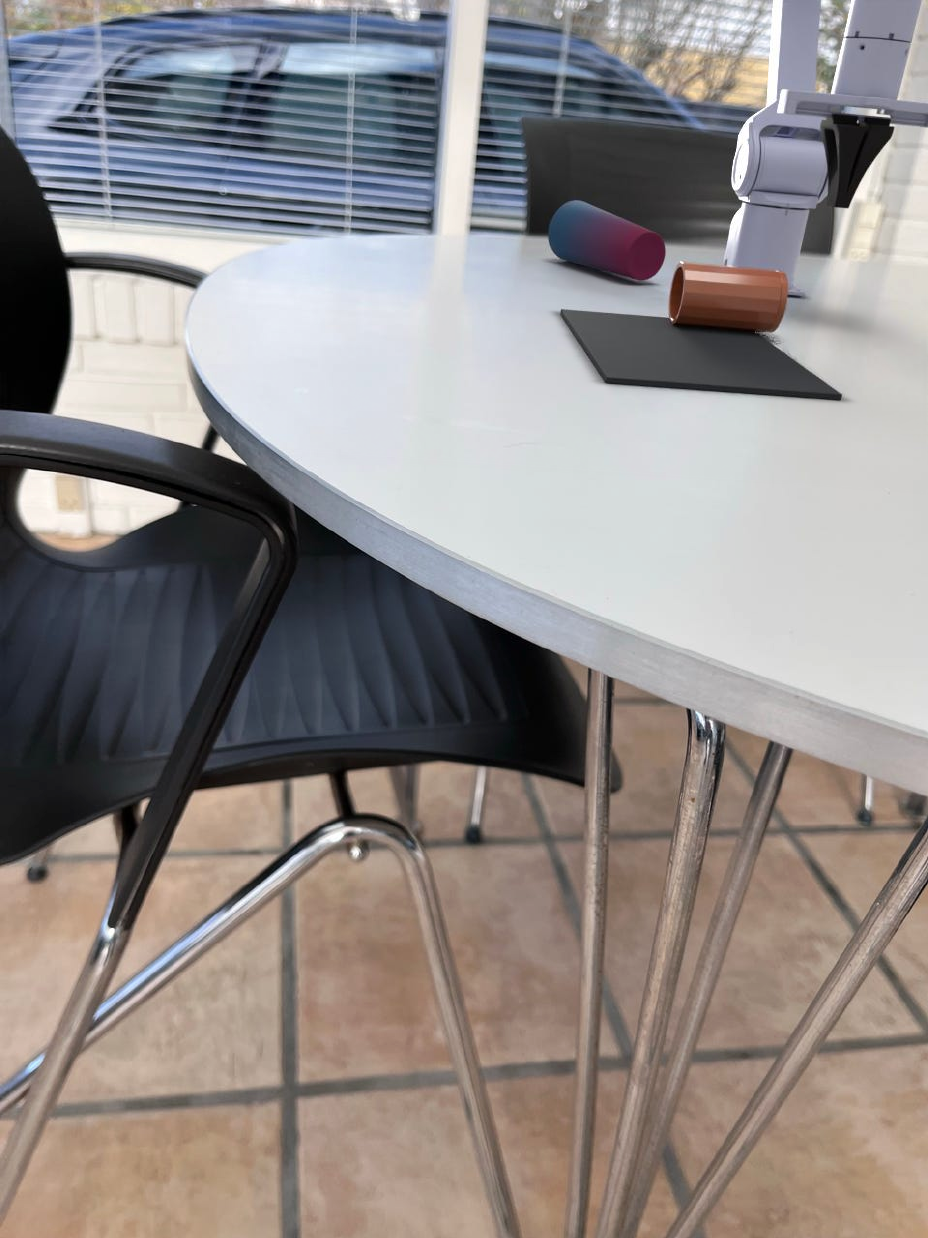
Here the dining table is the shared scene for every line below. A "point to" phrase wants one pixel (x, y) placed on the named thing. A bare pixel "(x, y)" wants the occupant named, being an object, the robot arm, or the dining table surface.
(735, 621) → the dining table surface
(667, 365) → the mat
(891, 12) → the robot arm
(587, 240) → the cup
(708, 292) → the small cup
